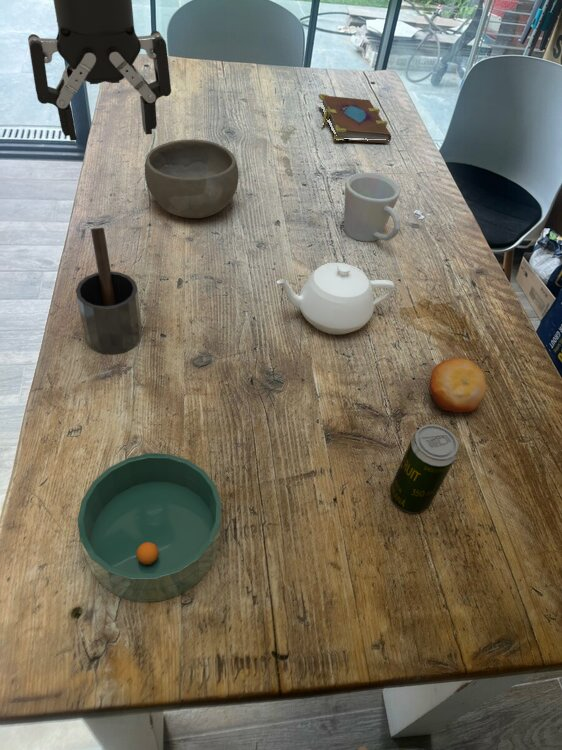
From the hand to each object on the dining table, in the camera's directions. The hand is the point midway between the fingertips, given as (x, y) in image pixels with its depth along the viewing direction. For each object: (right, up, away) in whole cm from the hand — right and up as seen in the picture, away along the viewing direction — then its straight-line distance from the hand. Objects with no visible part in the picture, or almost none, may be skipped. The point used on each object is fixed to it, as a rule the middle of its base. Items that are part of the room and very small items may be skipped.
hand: (110, 134), depth 68 cm
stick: (-5, -22, +20) cm, 30 cm away
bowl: (+2, +6, +49) cm, 49 cm away
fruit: (+45, -32, +19) cm, 59 cm away
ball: (+5, -48, -4) cm, 48 cm away
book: (+37, +37, +83) cm, 98 cm away
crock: (-6, -22, +22) cm, 31 cm away
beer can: (+36, -44, +7) cm, 57 cm away
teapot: (+28, -18, +30) cm, 45 cm away
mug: (+37, -1, +47) cm, 60 cm away
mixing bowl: (+5, -47, 0) cm, 47 cm away
